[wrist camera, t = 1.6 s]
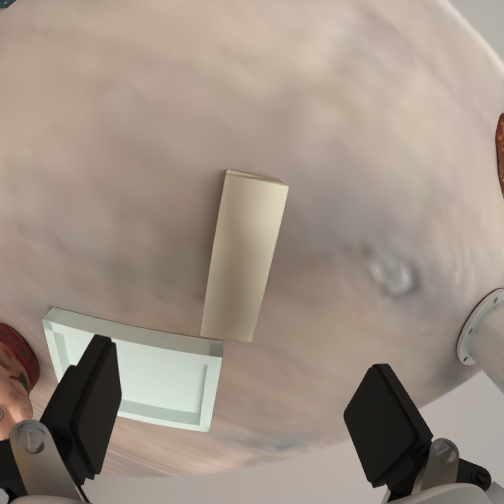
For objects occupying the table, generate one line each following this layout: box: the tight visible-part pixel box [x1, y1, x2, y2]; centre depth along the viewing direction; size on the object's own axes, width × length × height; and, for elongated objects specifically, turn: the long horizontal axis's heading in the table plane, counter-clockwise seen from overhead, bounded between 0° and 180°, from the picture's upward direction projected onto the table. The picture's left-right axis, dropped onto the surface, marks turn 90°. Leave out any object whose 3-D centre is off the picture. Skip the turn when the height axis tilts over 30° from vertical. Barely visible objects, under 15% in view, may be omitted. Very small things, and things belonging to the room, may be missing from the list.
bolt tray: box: [42, 307, 223, 432], centre depth 27 cm, size 18×12×2 cm
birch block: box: [200, 169, 289, 343], centre depth 22 cm, size 4×12×5 cm, turn 169°
